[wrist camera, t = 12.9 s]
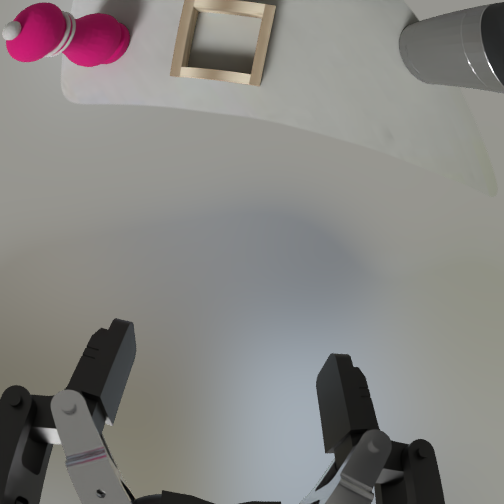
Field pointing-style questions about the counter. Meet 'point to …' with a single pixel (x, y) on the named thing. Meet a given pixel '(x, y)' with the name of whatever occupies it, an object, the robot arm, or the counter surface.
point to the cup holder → (221, 3)
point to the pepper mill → (65, 36)
